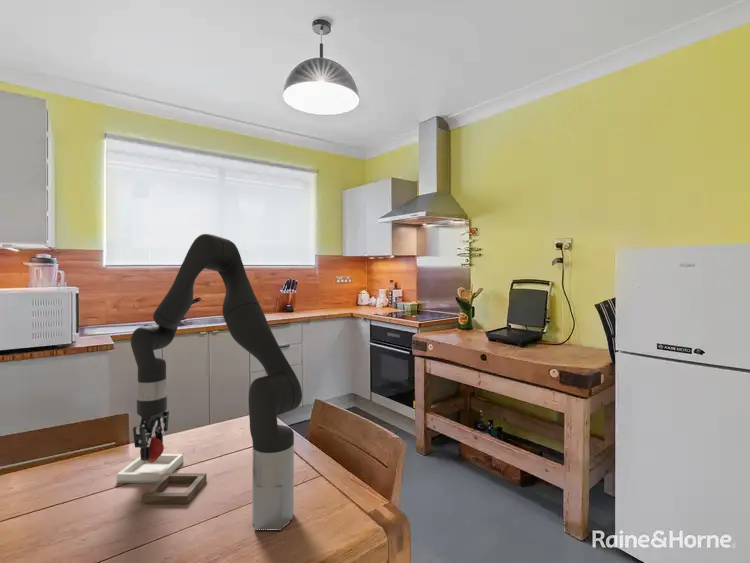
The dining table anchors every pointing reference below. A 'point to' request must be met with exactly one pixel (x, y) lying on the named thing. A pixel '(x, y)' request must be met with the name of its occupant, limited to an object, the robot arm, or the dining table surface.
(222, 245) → the robot arm
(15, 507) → the dining table surface
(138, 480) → the tray
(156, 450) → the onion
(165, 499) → the frame
